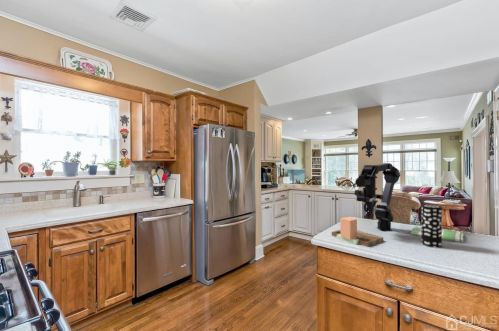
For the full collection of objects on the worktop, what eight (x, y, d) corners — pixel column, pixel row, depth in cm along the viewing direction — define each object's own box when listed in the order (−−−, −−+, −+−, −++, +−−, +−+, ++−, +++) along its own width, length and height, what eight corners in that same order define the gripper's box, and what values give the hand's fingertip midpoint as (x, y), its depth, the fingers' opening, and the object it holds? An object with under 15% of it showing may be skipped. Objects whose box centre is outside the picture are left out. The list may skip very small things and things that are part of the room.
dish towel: (414, 228, 152) (414, 224, 152) (463, 236, 137) (463, 231, 137) (410, 235, 139) (410, 230, 139) (463, 244, 123) (463, 239, 123)
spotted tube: (437, 242, 125) (437, 205, 124) (444, 248, 117) (445, 208, 116) (418, 241, 127) (419, 204, 127) (424, 246, 119) (425, 207, 119)
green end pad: (340, 237, 135) (340, 233, 135) (359, 243, 125) (359, 239, 125) (336, 238, 133) (336, 234, 133) (356, 244, 123) (356, 240, 123)
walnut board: (347, 231, 147) (347, 227, 147) (383, 241, 128) (383, 237, 128) (331, 235, 139) (331, 232, 139) (367, 246, 120) (367, 242, 120)
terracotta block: (347, 234, 134) (347, 217, 133) (356, 237, 129) (356, 219, 128) (340, 236, 130) (340, 218, 130) (350, 239, 125) (350, 220, 125)
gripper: (366, 184, 152) (366, 208, 152) (348, 185, 142) (348, 211, 142) (383, 185, 142) (383, 211, 143) (366, 187, 132) (365, 215, 133)
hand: (370, 212), depth 140 cm, fingers closed
